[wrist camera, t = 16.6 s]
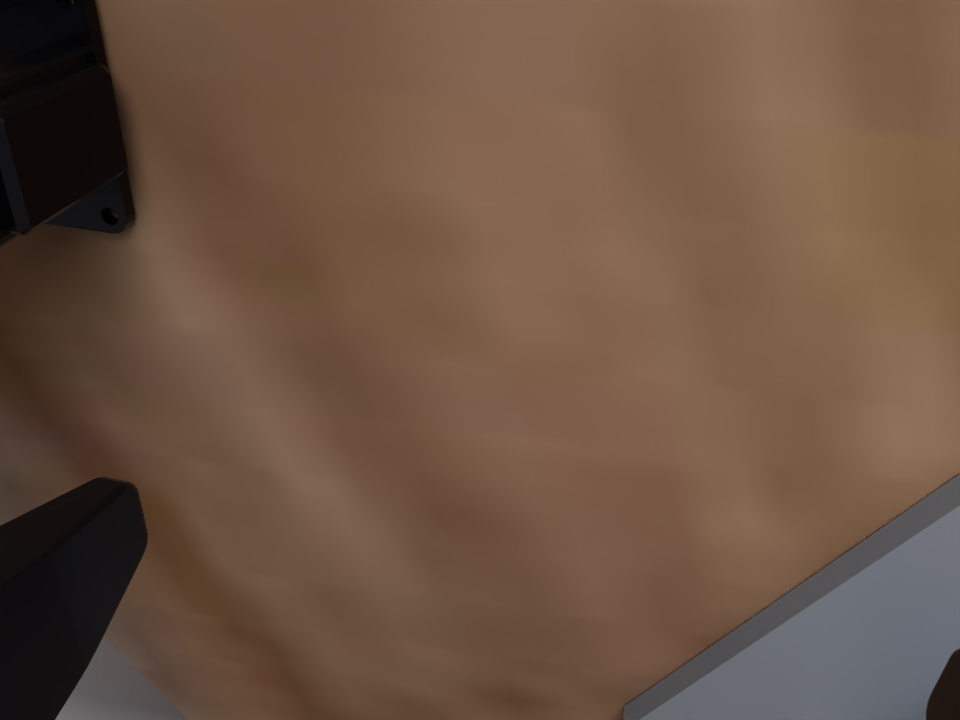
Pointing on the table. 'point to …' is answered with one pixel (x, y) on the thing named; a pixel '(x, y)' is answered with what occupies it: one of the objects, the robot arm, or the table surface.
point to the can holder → (838, 635)
